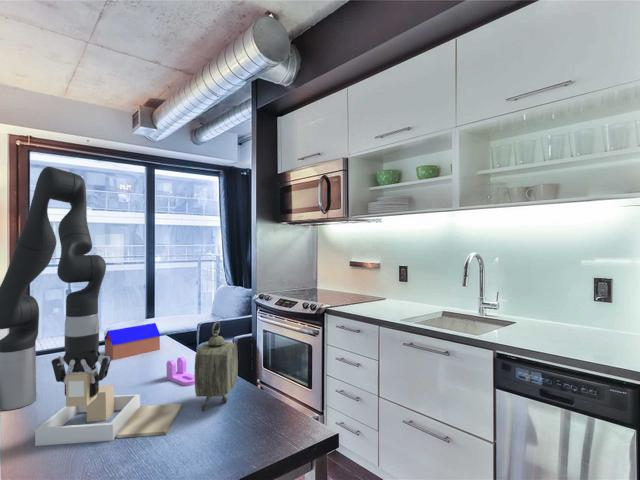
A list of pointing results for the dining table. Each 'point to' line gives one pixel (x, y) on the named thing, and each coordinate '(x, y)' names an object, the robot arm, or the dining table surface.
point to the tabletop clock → (215, 368)
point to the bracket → (179, 372)
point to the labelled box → (78, 389)
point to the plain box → (101, 404)
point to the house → (132, 341)
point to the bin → (60, 434)
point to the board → (150, 421)
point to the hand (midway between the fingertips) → (81, 396)
